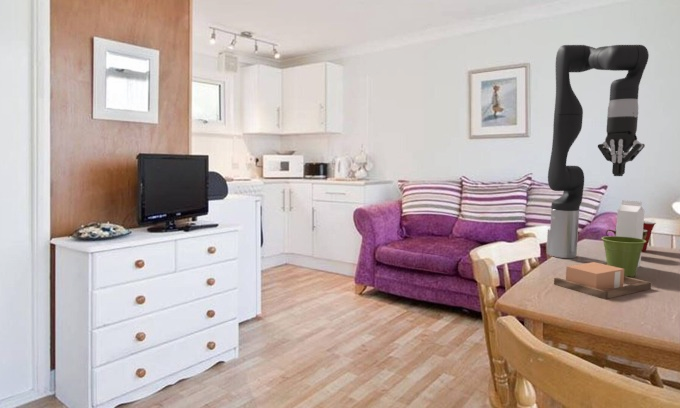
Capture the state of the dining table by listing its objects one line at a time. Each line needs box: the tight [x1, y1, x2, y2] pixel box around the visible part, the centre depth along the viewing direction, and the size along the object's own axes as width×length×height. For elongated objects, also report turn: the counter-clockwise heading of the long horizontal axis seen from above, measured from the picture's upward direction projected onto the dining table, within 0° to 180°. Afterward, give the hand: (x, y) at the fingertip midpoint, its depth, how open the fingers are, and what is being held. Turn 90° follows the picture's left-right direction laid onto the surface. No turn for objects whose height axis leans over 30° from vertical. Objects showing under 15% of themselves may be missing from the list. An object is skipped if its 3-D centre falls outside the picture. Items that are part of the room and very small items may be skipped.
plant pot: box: [601, 235, 646, 278], centre depth 142 cm, size 12×12×11 cm
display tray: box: [553, 276, 652, 300], centre depth 129 cm, size 15×20×2 cm
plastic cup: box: [641, 220, 657, 252], centre depth 179 cm, size 11×11×12 cm
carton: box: [565, 261, 625, 290], centre depth 128 cm, size 9×12×6 cm
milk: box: [615, 199, 645, 268], centre depth 152 cm, size 6×6×22 cm
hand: (618, 176), depth 134 cm, fingers closed
